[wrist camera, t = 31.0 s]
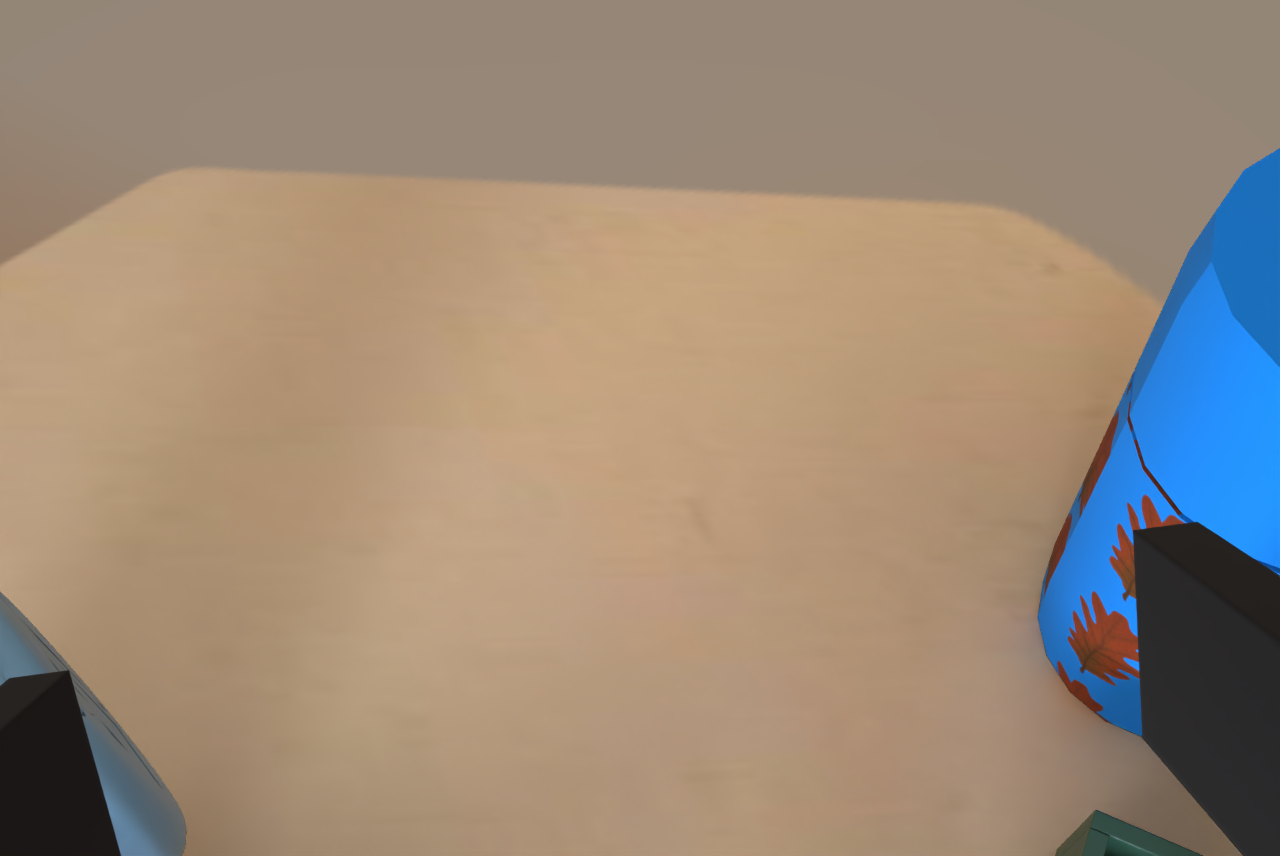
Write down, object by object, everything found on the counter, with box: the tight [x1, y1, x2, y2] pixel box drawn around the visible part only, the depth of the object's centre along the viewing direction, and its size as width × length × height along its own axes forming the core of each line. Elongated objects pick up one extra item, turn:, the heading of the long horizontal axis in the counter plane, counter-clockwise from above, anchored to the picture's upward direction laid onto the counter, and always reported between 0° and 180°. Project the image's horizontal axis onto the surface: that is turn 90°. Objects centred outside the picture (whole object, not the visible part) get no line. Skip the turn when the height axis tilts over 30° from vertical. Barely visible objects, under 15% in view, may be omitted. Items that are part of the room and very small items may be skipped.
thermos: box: [1038, 148, 1280, 737], centre depth 40 cm, size 11×11×25 cm
